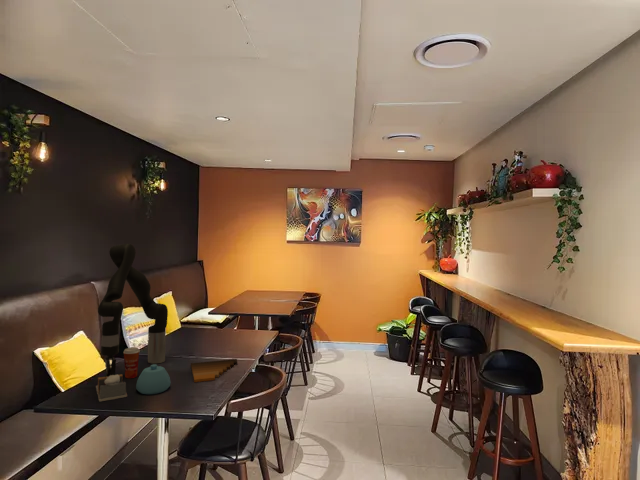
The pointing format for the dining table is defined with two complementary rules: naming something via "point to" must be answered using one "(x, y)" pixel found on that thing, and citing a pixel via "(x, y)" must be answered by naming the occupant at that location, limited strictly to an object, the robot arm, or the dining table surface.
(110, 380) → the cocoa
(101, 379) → the sliding jaw
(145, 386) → the teal dome lid
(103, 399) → the beige napkin holder
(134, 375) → the paper cup
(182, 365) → the dining table surface
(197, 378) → the pan flute
